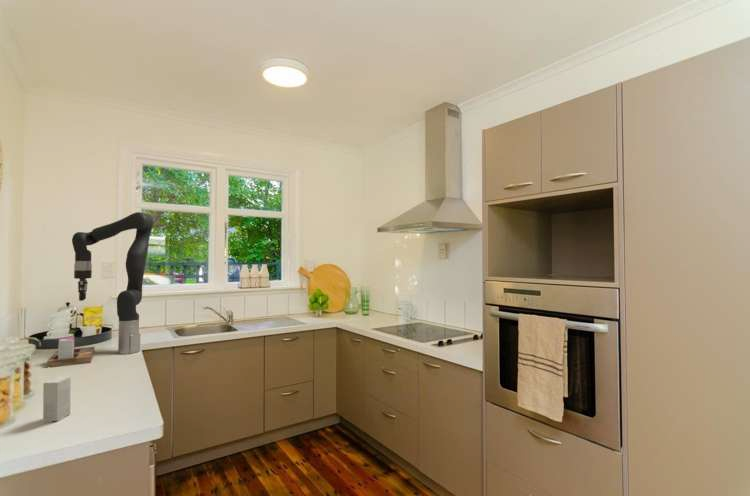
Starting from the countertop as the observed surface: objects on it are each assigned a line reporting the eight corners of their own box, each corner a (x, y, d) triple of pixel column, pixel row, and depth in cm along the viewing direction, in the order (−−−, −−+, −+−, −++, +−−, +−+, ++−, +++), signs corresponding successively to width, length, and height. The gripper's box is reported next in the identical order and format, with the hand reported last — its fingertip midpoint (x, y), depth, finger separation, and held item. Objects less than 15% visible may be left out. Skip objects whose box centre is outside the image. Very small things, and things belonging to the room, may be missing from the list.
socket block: (55, 356, 200) (56, 349, 200) (94, 352, 209) (94, 346, 209) (47, 367, 179) (47, 360, 179) (90, 362, 188) (90, 355, 188)
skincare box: (56, 414, 124) (57, 376, 125) (70, 414, 125) (71, 376, 125) (41, 422, 118) (42, 382, 119) (56, 422, 119) (57, 382, 119)
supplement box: (73, 363, 187) (73, 339, 187) (57, 365, 184) (57, 340, 184) (74, 360, 192) (74, 337, 192) (58, 362, 189) (59, 338, 189)
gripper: (75, 269, 213) (75, 299, 213) (72, 269, 201) (72, 301, 201) (92, 269, 218) (92, 298, 217) (90, 269, 205) (90, 300, 205)
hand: (82, 299), depth 209 cm, fingers open, 8 cm apart
